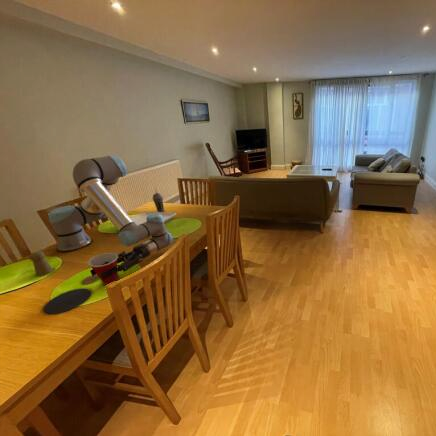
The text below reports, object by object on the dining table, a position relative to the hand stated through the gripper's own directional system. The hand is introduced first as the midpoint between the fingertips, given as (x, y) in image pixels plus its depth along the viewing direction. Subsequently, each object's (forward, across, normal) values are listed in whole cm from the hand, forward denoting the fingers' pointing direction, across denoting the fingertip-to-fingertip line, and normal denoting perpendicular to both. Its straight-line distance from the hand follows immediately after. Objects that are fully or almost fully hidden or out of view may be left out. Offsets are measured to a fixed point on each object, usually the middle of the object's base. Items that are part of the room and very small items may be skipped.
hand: (96, 275), depth 104 cm
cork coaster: (-2, +11, -7) cm, 13 cm away
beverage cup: (-79, +57, -7) cm, 98 cm away
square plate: (-59, +45, -7) cm, 74 cm away
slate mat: (+10, +4, -7) cm, 13 cm away
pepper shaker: (+3, +39, -7) cm, 40 cm away
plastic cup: (-5, +1, -7) cm, 8 cm away
